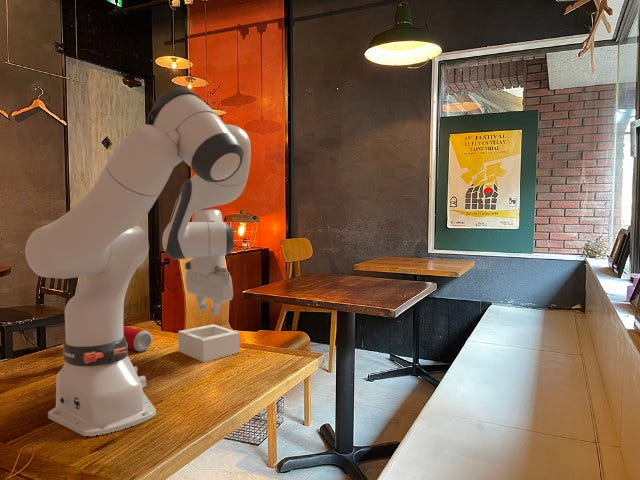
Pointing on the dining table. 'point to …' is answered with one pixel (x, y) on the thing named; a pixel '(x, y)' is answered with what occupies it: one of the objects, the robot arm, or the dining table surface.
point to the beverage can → (137, 338)
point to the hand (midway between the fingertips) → (209, 312)
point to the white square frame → (208, 342)
